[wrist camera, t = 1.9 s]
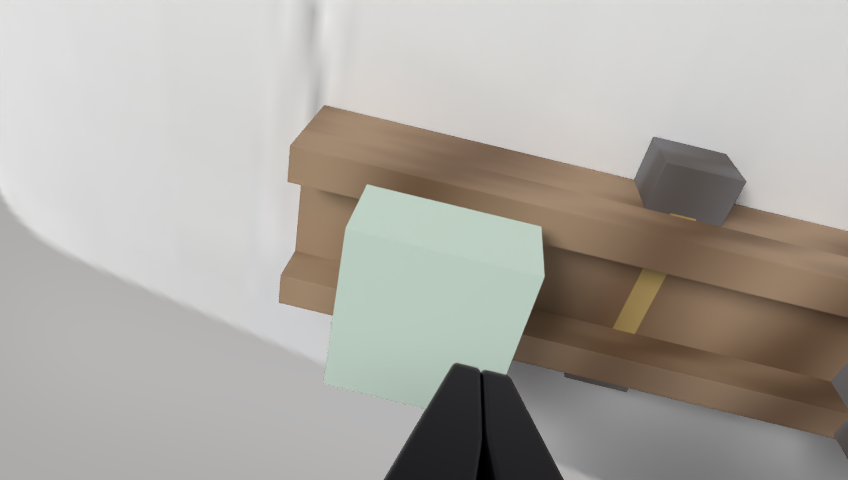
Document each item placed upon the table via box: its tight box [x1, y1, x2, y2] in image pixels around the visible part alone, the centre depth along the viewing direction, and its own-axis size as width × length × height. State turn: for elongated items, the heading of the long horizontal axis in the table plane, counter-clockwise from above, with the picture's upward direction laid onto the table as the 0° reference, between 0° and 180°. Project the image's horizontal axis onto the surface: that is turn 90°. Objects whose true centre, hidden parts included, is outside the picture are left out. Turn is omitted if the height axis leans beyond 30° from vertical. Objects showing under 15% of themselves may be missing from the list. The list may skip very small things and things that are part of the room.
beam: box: [279, 105, 848, 458], centre depth 19 cm, size 24×9×6 cm, turn 79°
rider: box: [323, 184, 545, 409], centre depth 17 cm, size 5×6×4 cm
